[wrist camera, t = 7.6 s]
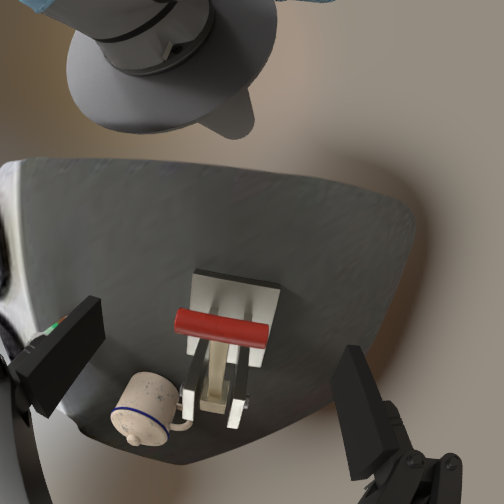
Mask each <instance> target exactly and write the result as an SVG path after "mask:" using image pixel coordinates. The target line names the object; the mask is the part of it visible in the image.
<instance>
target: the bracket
mask: <svg viewBox="0 0 504 504" xmlns="http://www.w3.org/2000/svg"><path fill="white" fill-rule="evenodd" d="M280 291H281V289H280V284H276V283H270V282H265V281H259V280H253V279H247V278H242V277H236V276H231V275H225V274H220V273H215V272H209V271H204V270H199V269H195V271H194V272H193V275H192V286H191V297H190V310H193V311H198V312H203V313H208V314H213V315H218V316H224V317H229V318H235V319H240V320H246V321H252V322H258V323H264V324H268V325H269V334H270V330H271V327H272V323H273V319H274V315H275V311H276V307H277V303H278V299H279V295H280ZM268 338H269V335H268ZM267 342H268V341H267ZM266 346H267V345H266ZM209 349H210V340H206V339H201V338H197V337H192V336H188V339H187V354H189V355H193V359H192V362H191V365H190V368H189V371H188V374H187V377H186V380H185V382H182V384H181V388H180V396H181V397H183V400H182V418H183V419H187V420H191V421H193V420H194V416H195V412H196V408H197V404H198V400H199V396H200V392H201V389H202V385H203V381H204V377H205V373H206V369H207V366H208V362H209ZM265 350H266V348H265V349H257V348H251V347H244V346H238V345H233V344H229V351H228V357H227V362H229V363H234V364H236V365H235V372H234V379H233V386H232V393H231V400H230V407H229V415H228V422H227V427H228V428H234V429H238V427H239V423H240V419H241V416H242V412H243V408H244V409H248V406H249V400H250V394H246V390H247V378H248V366H253V367H261V364H262V361H263V357H264V353H265Z"/></svg>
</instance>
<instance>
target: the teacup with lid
mask: <svg viewBox="0 0 504 504" xmlns="http://www.w3.org/2000/svg"><path fill="white" fill-rule="evenodd" d="M178 402H179V393H178V391H177V389H176V388H175V386H174V385H173V384H172V383H171V382H170V381H168V380H167V379H165V378H164V377H162V376H160V375H157V374H154V373H150V372H139V373H136V374H135V375H133V376H132V378H131V379H130V381H129V383H128V385H127V387H126V389H125V391H124V393H123V394H122V396H121V398H120V400H119V402H118V404H117V406H116V408H114V409H113V410H112V412H111V421H112V423H113V425H114V426H115V428H116V429H117V430H118V431H119V432H120V433H122V434H123V435H124V436H126V437H127V441H128V443H130V444H131V445H134V446H138V445H140V444H144V445H149V446H159V445H162V444H164V443H165V442H166V441H167V440H168V438H169V430H170V429H171V430H176V431H183V430H186V429H188V428H190V427H191V425H192V423H193V421H191V420H187V422H186V423H184V424H172V420H173V417H174V414H175V411H176V409H178V410H181V411H182V404H179V403H178Z"/></svg>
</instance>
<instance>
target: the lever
mask: <svg viewBox="0 0 504 504" xmlns="http://www.w3.org/2000/svg"><path fill="white" fill-rule="evenodd" d="M174 330H175V332H176V333H179V334H183V335H187V336H192V337H197V338H201V339H206V340H210V349H209V373H208V377H206V376H205V378H204V383H203V387H202V392H201V396H200V410H204V411H209V412H214V413H219V414H224V413H225V409H226V404H227V398H228V392H229V386H230V381H227V380H224V375H225V369H226V363H227V357H228V351H229V344H233V345H238V346H244V347H251V348H257V349H265V348H266V345H267V341H268V335H269V325H268V324H264V323H258V322H252V321H246V320H240V319H235V318H229V317H224V316H218V315H213V314H208V313H203V312H198V311H193V310H189V309H184V308H179V310H178V312H177V314H176V318H175V324H174Z"/></svg>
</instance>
